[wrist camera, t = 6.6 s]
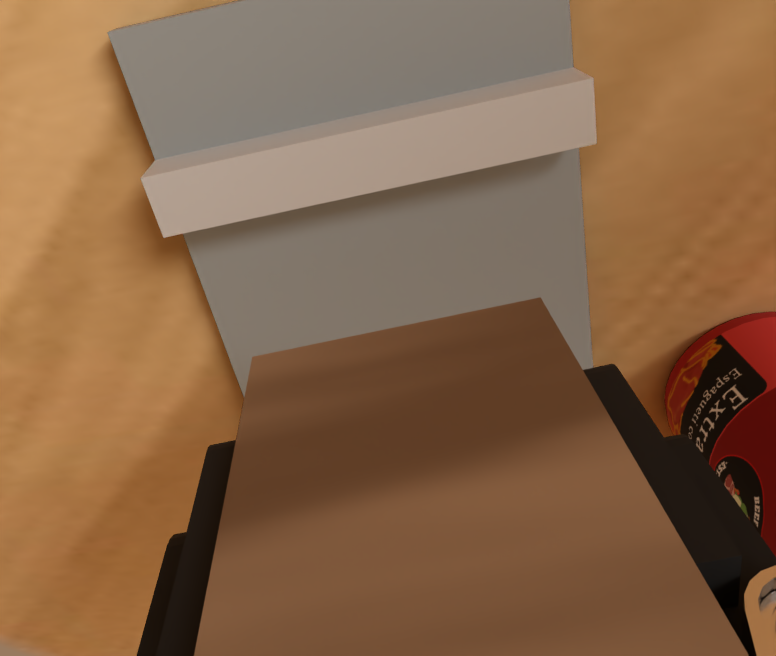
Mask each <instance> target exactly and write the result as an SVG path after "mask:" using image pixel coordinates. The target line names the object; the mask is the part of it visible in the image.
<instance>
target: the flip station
mask: <svg viewBox="0 0 776 656" xmlns="http://www.w3.org/2000/svg"><path fill="white" fill-rule="evenodd" d="M107 33H108V35H109V38H110V41H111V43H112V46H113V49H114V51H115V54H116V57H117V59H118V62H119V65H120V67H121V70H122V73H123V75H124V78H125V81H126V84H127V86H128V89H129V92H130V94H131V97H132V100H133V102H134V105H135V108H136V110H137V113H138V116H139V118H140V121H141V124H142V126H143V129H144V132H145V134H146V137H147V140H148V142H149V145H150V148H151V150H152V153H153V156H154V158H155V161H154V162H153V163H152V164H151V166H150V167H149V168H148V169H147V171H146V172H145V173H144V174H143V175H142V177H141V178H140V179H141V181H142V184H143V186H144V189H145V192H146V194H147V197H148V199H149V202H150V204H151V207H152V210H153V212H154V215H155V217H156V220H157V222H158V225H159V227H160V230H161V233H162V235H163V238H165V237H170V236H174V235H179V234H183V236H184V239H185V241H186V244H187V247H188V249H189V252H190V255H191V257H192V260H193V263H194V265H195V268H196V271H197V273H198V276H199V279H200V281H201V284H202V287H203V289H204V292H205V295H206V297H207V300H208V303H209V305H210V308H211V311H212V313H213V316H214V319H215V321H216V324H217V327H218V329H219V332H220V335H221V337H222V340H223V343H224V346H225V348H226V351H227V354H228V356H229V359H230V362H231V364H232V367H233V370H234V372H235V375H236V378H237V380H238V383H239V386H240V388H241V391H242V394H243V396H244V397H245V392H246V387H247V382H248V376H249V371H250V366H251V361H252V357H254V356H259V355H264V354H268V353H273V352H278V351H283V350H288V349H293V348H297V347H302V346H307V345H312V344H317V343H322V342H326V341H331V340H336V339H341V338H346V337H351V336H356V335H360V334H365V333H370V332H375V331H380V330H385V329H389V328H394V327H399V326H404V325H409V324H414V323H418V322H423V321H428V320H433V319H438V318H443V317H447V316H452V315H457V314H462V313H467V312H472V311H476V310H481V309H486V308H491V307H496V306H501V305H505V304H510V303H515V302H520V301H525V300H530V299H534V298H539V297H541V299H542V301H543V302H544V304H545V306H546V308H547V309H548V311H549V313H550V315H551V316H552V318H553V320H554V321H555V323H556V325H557V327H558V328H559V330H560V332H561V333H562V335H563V337H564V339H565V340H566V342H567V344H568V345H569V347H570V349H571V351H572V352H573V354H574V356H575V357H576V359H577V361H578V363H579V364H580V366H581V368H582V370H585V369H590V368H593V357H592V342H591V327H590V311H589V296H588V281H587V265H586V250H585V234H584V219H583V204H582V188H581V173H580V158H579V148H580V147H585V146H589V145H594V144H597V135H596V115H595V96H594V78H593V77H591V76H589V75H587V74H585V73H583V72H582V71H580V70H578V69H576V68H574V66H573V50H572V35H571V19H570V4H569V0H238V1H234V2H229V3H225V4H221V5H216V6H212V7H208V8H203V9H199V10H195V11H190V12H186V13H182V14H177V15H173V16H169V17H164V18H160V19H156V20H151V21H147V22H143V23H138V24H134V25H130V26H125V27H121V28H117V29H114V30H112V31H109V32H107Z"/></svg>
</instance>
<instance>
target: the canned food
mask: <svg viewBox="0 0 776 656" xmlns="http://www.w3.org/2000/svg"><path fill="white" fill-rule="evenodd" d="M665 406H666V412H667V418H668V423H669V427H670V429H671V431H672V433H673V435H679V434H684V435H686V436H688V437H689V438H690V439H691V440H692V441H693V442H694V444H695V445H696V446H697V448H698V449H699V450H700V452H701V453H702V455H703V456H704V457H705V459H706V460H707V462H708V463H709V464H710V466H711V467H712V469H713V470H714V471H715V473H716V474H717V476H718V477H719V478H720V480H721V481H722V483H723V484H724V485H725V487H726V488H727V489H728V491H729V492H730V494H731V495H732V496H733V498H734V499H735V501H736V502H737V503H738V505H739V506H740V508H741V509H742V510H743V512H744V513H745V515H746V516H747V517H748V519H749V520H750V521H751V523H752V524H753V526H754V527H755V528H756V530H757V531H758V533H759V534H760V535H761V537H762V538H763V540H764V541H765V542H766V544H767V545H768V547H769V548H770V549H771V551H772V552H773V553H774V555H775V556H776V312H763V313H754V314H750V315H746V316H742V317H739V318H735V319H733V320H730V321H728V322H726V323H724V324H721V325H719V326H717V327H716V328H714V329H712V330H711V331H709V332H708V333H706V334H705V335H703V336H702V337H700V338H699V339H698V340H697V341H696V342H695V343H693V344H692V345H691V346H690V347H689V348H688V349H687V350H686V351H685V353H684V354H683V355H682V356H681V357H680V359H679V360H678V361H677V363H676V365H675V367H674V368H673V370H672V372H671V374H670V376H669V379H668V382H667V385H666V391H665Z"/></svg>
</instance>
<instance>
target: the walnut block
mask: <svg viewBox="0 0 776 656" xmlns="http://www.w3.org/2000/svg"><path fill="white" fill-rule="evenodd" d="M194 656H749V655H748V653H747V651H746V650H745V648H744V646H743V645H742V643H741V641H740V639H739V638H738V636H737V634H736V633H735V631H734V629H733V627H732V626H731V624H730V622H729V621H728V619H727V617H726V615H725V614H724V612H723V610H722V609H721V607H720V605H719V603H718V602H717V600H716V598H715V596H714V595H713V593H712V591H711V590H710V588H709V586H708V584H707V583H706V581H705V579H704V578H703V576H702V574H701V572H700V571H699V569H698V567H697V566H696V564H695V562H694V560H693V559H692V557H691V555H690V554H689V552H688V550H687V548H686V547H685V545H684V543H683V541H682V540H681V538H680V536H679V535H678V533H677V531H676V529H675V528H674V526H673V524H672V523H671V521H670V519H669V517H668V516H667V514H666V512H665V511H664V509H663V507H662V505H661V504H660V502H659V500H658V498H657V497H656V495H655V493H654V492H653V490H652V488H651V486H650V485H649V483H648V481H647V480H646V478H645V476H644V474H643V473H642V471H641V469H640V468H639V466H638V464H637V462H636V461H635V459H634V457H633V455H632V454H631V452H630V450H629V449H628V447H627V445H626V443H625V442H624V440H623V438H622V437H621V435H620V433H619V431H618V430H617V428H616V426H615V425H614V423H613V421H612V419H611V418H610V416H609V414H608V413H607V411H606V409H605V407H604V406H603V404H602V402H601V400H600V399H599V397H598V395H597V394H596V392H595V390H594V388H593V387H592V385H591V383H590V382H589V380H588V378H587V376H586V375H585V373H584V371H583V370H582V368H581V366H580V364H579V363H578V361H577V359H576V357H575V356H574V354H573V352H572V351H571V349H570V347H569V345H568V344H567V342H566V340H565V339H564V337H563V335H562V333H561V332H560V330H559V328H558V327H557V325H556V323H555V321H554V320H553V318H552V316H551V315H550V313H549V311H548V309H547V308H546V306H545V304H544V302H543V301H542V299H541V297H539V298H534V299H530V300H525V301H520V302H515V303H510V304H505V305H501V306H496V307H491V308H486V309H481V310H476V311H472V312H467V313H462V314H457V315H452V316H447V317H443V318H438V319H433V320H428V321H423V322H418V323H414V324H409V325H404V326H399V327H394V328H389V329H385V330H380V331H375V332H370V333H365V334H360V335H356V336H351V337H346V338H341V339H336V340H331V341H326V342H322V343H317V344H312V345H307V346H302V347H297V348H293V349H288V350H283V351H278V352H273V353H268V354H264V355H259V356H254V357H252V361H251V366H250V371H249V376H248V382H247V387H246V392H245V397H244V402H243V407H242V412H241V417H240V422H239V428H238V433H237V438H236V443H235V448H234V453H233V458H232V463H231V469H230V474H229V479H228V484H227V489H226V494H225V499H224V504H223V509H222V515H221V520H220V525H219V530H218V535H217V540H216V545H215V550H214V555H213V561H212V566H211V571H210V576H209V581H208V586H207V591H206V596H205V601H204V607H203V612H202V617H201V622H200V627H199V632H198V637H197V642H196V648H195V653H194Z"/></svg>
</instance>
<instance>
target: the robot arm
mask: <svg viewBox="0 0 776 656" xmlns="http://www.w3.org/2000/svg"><path fill="white" fill-rule="evenodd" d="M583 371H584V373H585V375H586V376H587V378H588V380H589V382H590V383H591V385H592V387H593V388H594V390H595V392H596V394H597V395H598V397H599V399H600V400H601V402H602V404H603V406H604V407H605V409H606V411H607V413H608V414H609V416H610V418H611V419H612V421H613V423H614V425H615V426H616V428H617V430H618V431H619V433H620V435H621V437H622V438H623V440H624V442H625V443H626V445H627V447H628V449H629V450H630V452H631V454H632V455H633V457H634V459H635V461H636V462H637V464H638V466H639V468H640V469H641V471H642V473H643V474H644V476H645V478H646V480H647V481H648V483H649V485H650V486H651V488H652V490H653V492H654V493H655V495H656V497H657V498H658V500H659V502H660V504H661V505H662V507H663V509H664V511H665V512H666V514H667V516H668V517H669V519H670V521H671V523H672V524H673V526H674V528H675V529H676V531H677V533H678V535H679V536H680V538H681V540H682V541H683V543H684V545H685V547H686V548H687V550H688V552H689V554H690V555H691V557H692V559H693V560H694V562H695V564H696V566H697V567H698V569H699V571H700V572H701V574H702V576H703V578H704V579H705V581H706V583H707V584H708V586H709V588H710V590H711V591H712V593H713V595H714V596H715V598H716V600H717V602H718V603H719V605H720V607H721V609H722V610H723V612H724V614H725V615H726V617H727V619H728V621H729V622H730V624H731V626H732V627H733V629H734V631H735V633H736V634H737V636H738V638H739V639H740V641H741V643H742V645H743V646H744V648H745V650H746V651H747V653H748V655H749V656H776V556H775V555H774V553H773V552H772V551H771V549H770V548H769V547H768V545H767V544H766V542H765V541H764V540H763V538H762V537H761V535H760V534H759V533H758V531H757V530H756V528H755V527H754V526H753V524H752V523H751V521H750V520H749V519H748V517H747V516H746V515H745V513H744V512H743V510H742V509H741V508H740V506H739V505H738V503H737V502H736V501H735V499H734V498H733V496H732V495H731V494H730V492H729V491H728V489H727V488H726V487H725V485H724V484H723V483H722V481H721V480H720V478H719V477H718V476H717V474H716V473H715V471H714V470H713V469H712V467H711V466H710V464H709V463H708V462H707V460H706V459H705V457H704V456H703V455H702V453H701V452H700V450H699V449H698V448H697V446H696V445H695V444H694V442H693V441H692V440H691V439H690V438H689V437H688V436H686V435H684V434H679V435H674V436H669V437H663V436H662V434H661V432H660V431H659V429H658V428H657V426H656V425H655V423H654V422H653V420H652V419H651V417H650V416H649V414H648V413H647V411H646V410H645V408H644V407H643V405H642V404H641V402H640V401H639V399H638V398H637V396H636V395H635V393H634V392H633V390H632V389H631V387H630V386H629V384H628V383H627V381H626V380H625V378H624V377H623V375H622V374H621V372H620V371H619V369H618V368H617V367H616V366H615V365H614V364H609V365H605V366H600V367H595V368H590V369H585V370H583ZM235 443H236V440H234V441H229V442H224V443H219V444H214V445H210V446H209V447H208V450H207V453H206V457H205V461H204V465H203V469H202V473H201V477H200V481H199V485H198V489H197V493H196V497H195V501H194V505H193V509H192V513H191V517H190V521H189V525H188V529H187V532H185V533H180V534H175V535H173V536H172V537H171V538H170V540H169V543H168V545H167V548H166V551H165V555H164V559H163V562H162V566H161V570H160V573H159V577H158V580H157V584H156V588H155V591H154V595H153V599H152V602H151V606H150V609H149V613H148V617H147V620H146V624H145V628H144V631H143V635H142V638H141V642H140V646H139V649H138V653H137V656H194V653H195V648H196V642H197V637H198V632H199V627H200V622H201V617H202V612H203V607H204V601H205V596H206V591H207V586H208V581H209V576H210V571H211V566H212V561H213V555H214V550H215V545H216V540H217V535H218V530H219V525H220V520H221V515H222V509H223V504H224V499H225V494H226V489H227V484H228V479H229V474H230V469H231V463H232V458H233V453H234V448H235Z"/></svg>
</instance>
